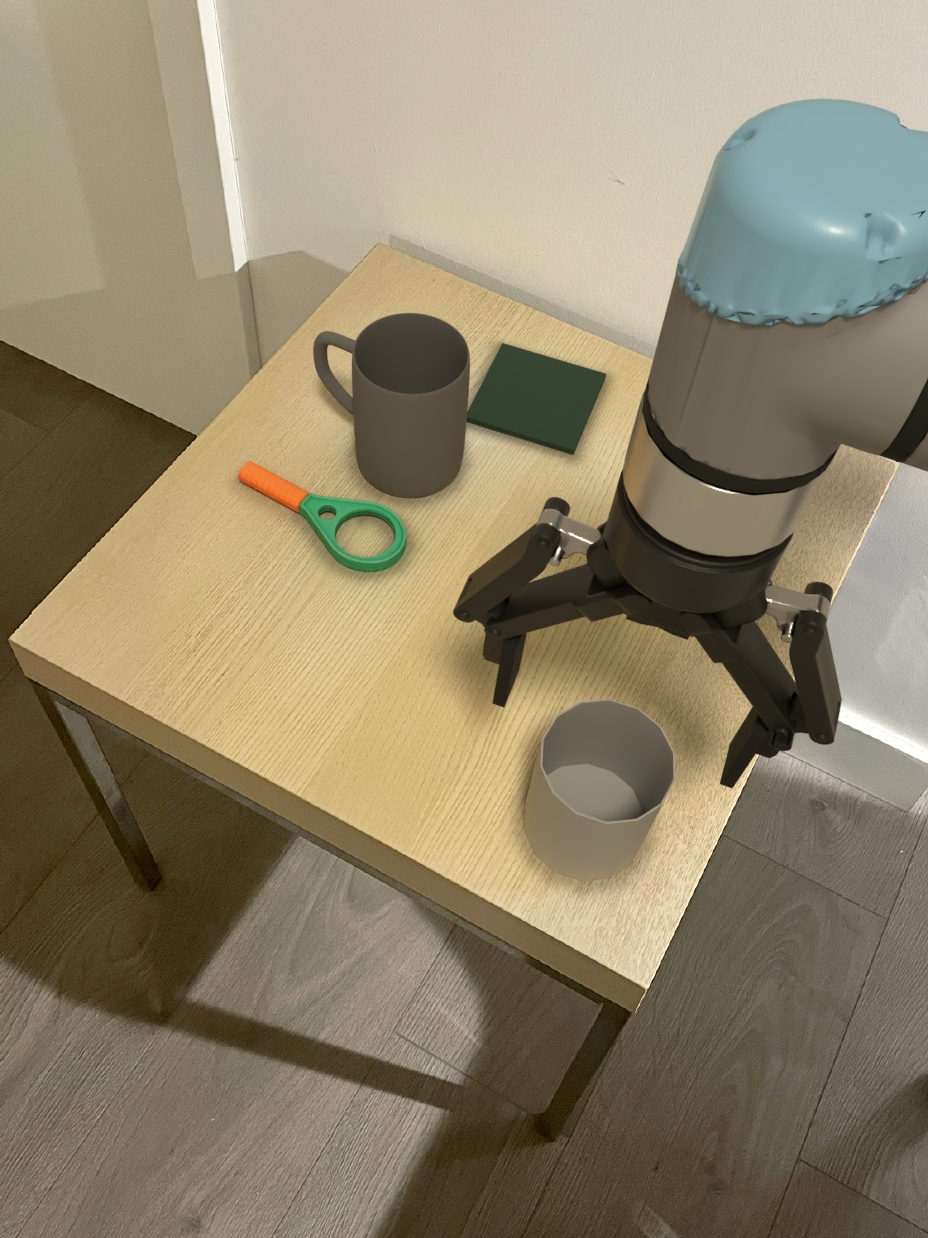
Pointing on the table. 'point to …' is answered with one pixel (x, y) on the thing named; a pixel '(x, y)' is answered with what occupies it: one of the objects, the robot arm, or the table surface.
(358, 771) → the table surface
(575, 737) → the cup
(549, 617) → the robot arm
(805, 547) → the table surface
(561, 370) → the coaster mat
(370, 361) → the mug
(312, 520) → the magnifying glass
